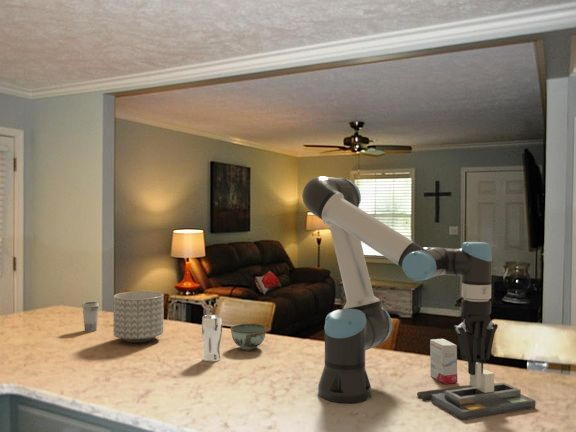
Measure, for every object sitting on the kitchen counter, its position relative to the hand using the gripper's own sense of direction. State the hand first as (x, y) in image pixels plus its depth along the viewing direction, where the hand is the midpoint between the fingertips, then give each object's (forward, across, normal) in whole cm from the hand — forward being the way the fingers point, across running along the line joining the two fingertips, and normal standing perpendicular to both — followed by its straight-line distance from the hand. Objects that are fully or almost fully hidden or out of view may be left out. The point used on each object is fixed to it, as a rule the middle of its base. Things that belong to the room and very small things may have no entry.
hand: (475, 385), depth 139 cm
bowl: (+5, -43, +74) cm, 86 cm away
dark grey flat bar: (+6, +3, +10) cm, 12 cm away
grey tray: (+6, +3, 0) cm, 6 cm away
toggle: (+3, +3, 0) cm, 5 cm away
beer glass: (+5, -59, +65) cm, 88 cm away
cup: (+5, -100, +121) cm, 157 cm away
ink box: (+6, +6, +21) cm, 23 cm away
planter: (+5, -81, +98) cm, 128 cm away
